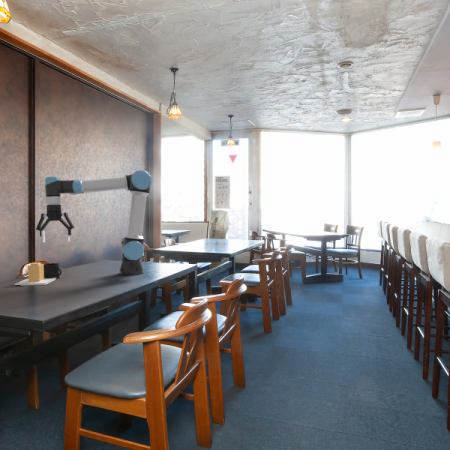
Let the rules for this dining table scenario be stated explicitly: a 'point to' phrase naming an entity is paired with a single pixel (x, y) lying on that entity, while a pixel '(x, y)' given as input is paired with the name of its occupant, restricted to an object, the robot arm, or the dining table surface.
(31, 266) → the tan rectangular block
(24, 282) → the junction board
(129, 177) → the robot arm
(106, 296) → the dining table surface
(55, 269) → the mug
